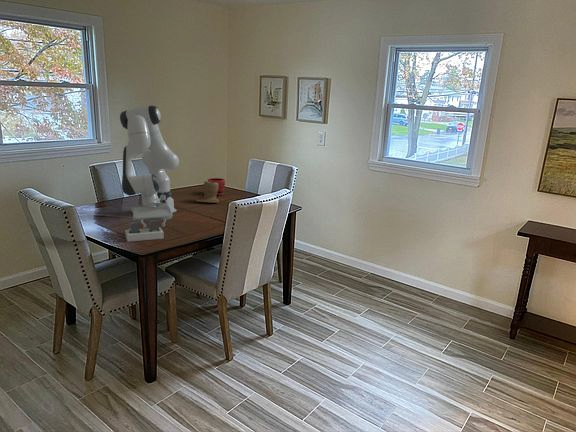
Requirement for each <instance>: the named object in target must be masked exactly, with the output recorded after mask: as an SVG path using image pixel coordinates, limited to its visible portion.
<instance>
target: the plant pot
mask: <svg viewBox="0 0 576 432" xmlns="http://www.w3.org/2000/svg"><path fill="white" fill-rule="evenodd" d="M207 181H209V182H216V183H218V184H219V187H218V192H217V195H220V196H223V195H224V194H225V192H224V190H225V187H226V186H225V185H226V179H224V178H219V177H217V178H216V177H214V178H213V177H211V178H208V179H207ZM217 195H216V197H218V196H217Z"/></svg>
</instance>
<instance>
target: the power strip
mask: <svg viewBox="0 0 576 432" xmlns="http://www.w3.org/2000/svg"><path fill="white" fill-rule="evenodd" d="M139 223H140V222H139V221H138V222H135V221H130V222H129V227H128V228H127V229H125V238H126V240H127V242H128V243H129V242H141V241H151V240H163V239H164V237H165V235H164V234H165V233H164V231H163V229H162V226H161V227H160V226H159V231H156V232H150V227H147V228H144V227H143V228H139V227H140V225H139Z"/></svg>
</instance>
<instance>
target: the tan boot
mask: <svg viewBox="0 0 576 432" xmlns="http://www.w3.org/2000/svg"><path fill="white" fill-rule="evenodd" d="M218 187H219V184H218V183H216V182H209V181H208V180H205V181H204V182H203V192H204V193H203V196H199V197H197V198H196V202H197V203H209V204H217V203H219V202H220V200H219V199H218V198H217V196H216V195H217V192H218Z"/></svg>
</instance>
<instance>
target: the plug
mask: <svg viewBox="0 0 576 432" xmlns="http://www.w3.org/2000/svg"><path fill="white" fill-rule="evenodd" d="M159 227H160V226H159V220H150V221H149V228H150V232H156V231H159Z"/></svg>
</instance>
